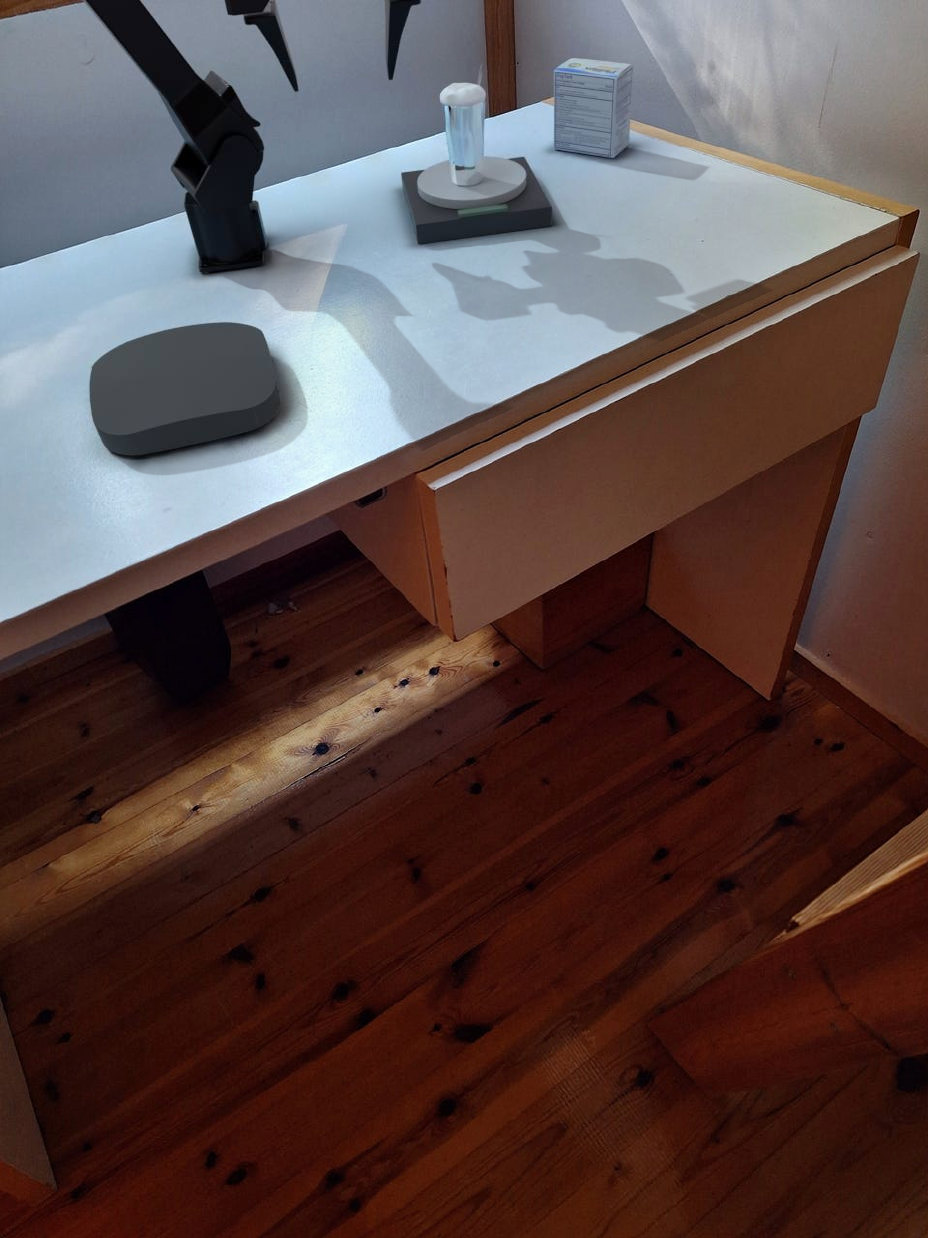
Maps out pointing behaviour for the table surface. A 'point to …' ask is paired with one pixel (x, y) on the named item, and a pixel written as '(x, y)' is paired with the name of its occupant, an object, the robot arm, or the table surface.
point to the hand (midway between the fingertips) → (343, 84)
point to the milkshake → (465, 130)
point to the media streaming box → (183, 388)
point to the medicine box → (592, 106)
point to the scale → (475, 201)
